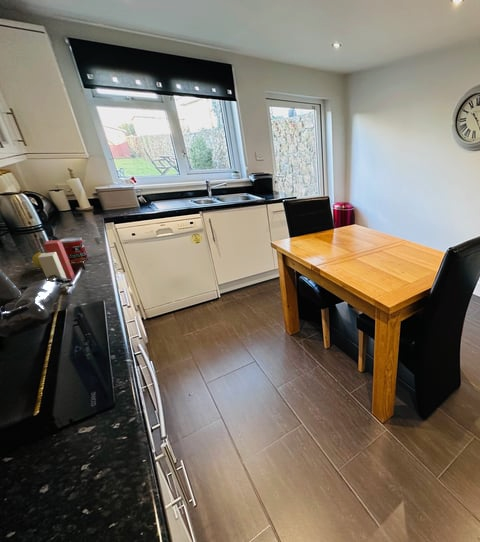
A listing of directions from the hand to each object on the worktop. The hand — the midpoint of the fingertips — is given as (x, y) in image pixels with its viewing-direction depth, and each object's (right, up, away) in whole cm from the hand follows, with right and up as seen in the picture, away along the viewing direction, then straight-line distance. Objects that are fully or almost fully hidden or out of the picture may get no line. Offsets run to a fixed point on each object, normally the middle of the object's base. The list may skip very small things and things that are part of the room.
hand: (53, 277), depth 103 cm
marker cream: (-2, -4, +4) cm, 6 cm away
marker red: (-8, -1, +12) cm, 15 cm away
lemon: (-30, +3, +24) cm, 39 cm away
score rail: (-7, -3, +11) cm, 13 cm away
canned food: (-26, +7, +35) cm, 44 cm away
